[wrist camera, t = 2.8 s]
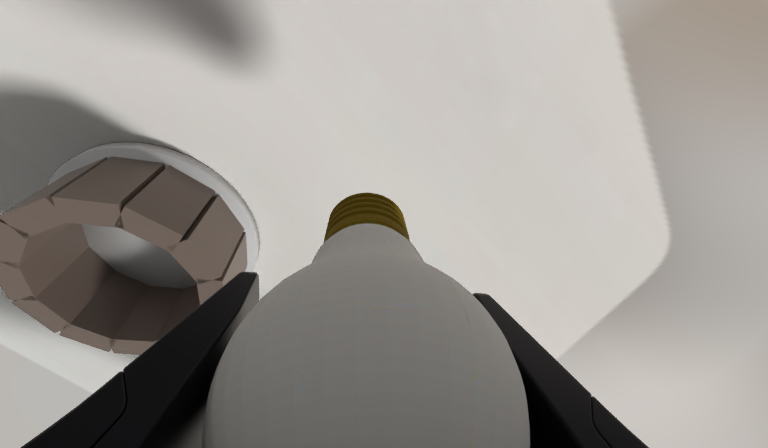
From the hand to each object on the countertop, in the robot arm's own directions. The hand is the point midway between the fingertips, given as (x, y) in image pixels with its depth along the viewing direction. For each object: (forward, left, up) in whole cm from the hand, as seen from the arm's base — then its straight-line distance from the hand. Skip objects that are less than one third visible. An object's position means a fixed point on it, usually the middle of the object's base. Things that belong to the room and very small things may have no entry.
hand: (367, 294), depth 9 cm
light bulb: (0, 0, -4) cm, 4 cm away
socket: (-7, +11, -11) cm, 17 cm away
